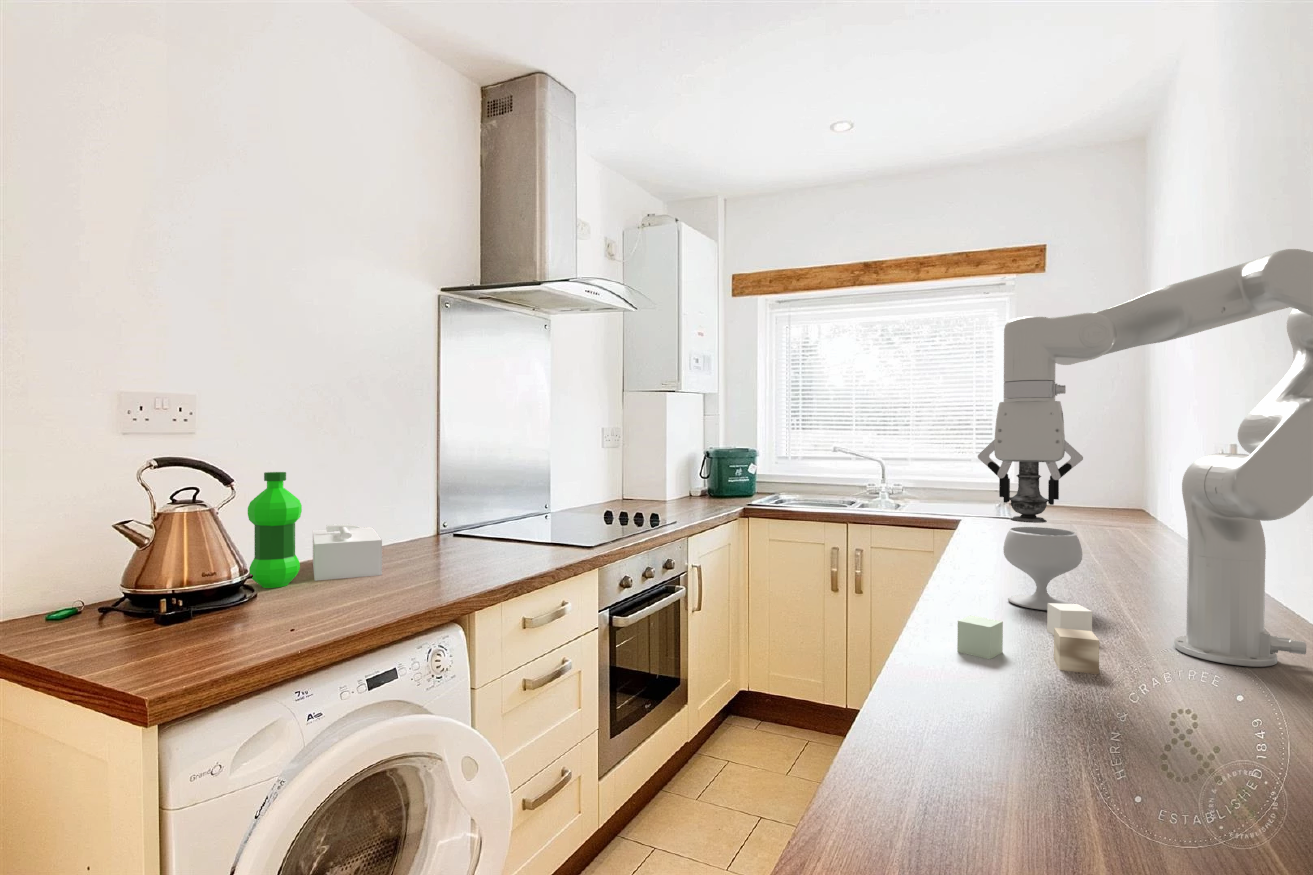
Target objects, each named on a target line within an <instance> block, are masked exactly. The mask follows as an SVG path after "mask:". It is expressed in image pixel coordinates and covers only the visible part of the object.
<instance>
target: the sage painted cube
mask: <svg viewBox="0 0 1313 875" xmlns="http://www.w3.org/2000/svg"><path fill="white" fill-rule="evenodd" d="M1003 626H1004V622H1003V621H1002V620H997V619H991V618H987V617H981V616H976V615H973V614H971V615H968V616H966V617H963V618H960V619H958V620H957V645H956V646H957V648H956V649H957V653H961V654H965V655H969V656H973V657H978V658H982V659H988V660H992V659H993V658H995V657H997V656H1000V655H1001V654H1002V653H1003V649H1004V648H1003V643H1004V642H1003V638H1004V635H1003V634H1004V633H1003V632H1004V631H1003V629H1004V627H1003Z"/></svg>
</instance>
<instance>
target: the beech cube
mask: <svg viewBox="0 0 1313 875" xmlns="http://www.w3.org/2000/svg"><path fill="white" fill-rule="evenodd" d="M1053 661H1054V663H1055V665H1056V666H1057V668H1058V670H1059V671H1065V672H1075V673H1083V672H1084V673H1085V674H1092V675H1100V639H1099V638H1098V637H1097V636H1096V634H1095V633H1094V632H1093V630H1092V631H1085V630H1074V629H1063V628H1054V635H1053Z"/></svg>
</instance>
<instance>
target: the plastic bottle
mask: <svg viewBox="0 0 1313 875" xmlns="http://www.w3.org/2000/svg"><path fill="white" fill-rule="evenodd" d="M263 480H264V482H266V488H265V489H263V491H261V492H260V493H259V494H258V495H256V496H255V497H254V498H253V499H252V500H251V501H249V504H248V507H247V517H248V521H250V522H251V524H253V525H254V557H253V560H252V561H251V563H250V566H249V571H248V572H249V575H250V574H252V575H253V577H252V578H251V579H252V580H253V581H254V582H255V583H256V584H258V585H259V586H261V588H264V589H274V588H275V589H276V588H282V587H285V586H288V585H289V584H290V583H291V581H293V579H295V578H296V577H297V575H298V574H299V572H300V569H301V563H300V561H299V558H298V557H297V555H296V522H298V520H299V519H300V518H301V515H302V510H303V509H302V508H303V507H302V506H303V505H302V503H301V501H300V499H299V498H298V497H296V496H295V495H294V494H293V493H292V492H290V491H289V490H287V489H286V488H285V487H284V481H286V480H287V472H286V471H267V472H263Z"/></svg>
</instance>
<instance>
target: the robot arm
mask: <svg viewBox="0 0 1313 875" xmlns="http://www.w3.org/2000/svg"><path fill="white" fill-rule="evenodd" d="M1288 308H1291V309H1292V310H1291V311H1290V313H1289V315H1288V317H1287V321H1286V332H1287V336H1288V338H1289V341H1290V344H1291V347H1292V354H1293V355H1292V363H1291V366H1290V367H1289V369H1288V371H1287V372H1286V373H1285V374H1284V375H1283V377H1282V378H1281V380H1279V382H1278V383H1276V385H1275V386H1274V387H1273V388H1271V390H1270V391H1269V392H1268V393H1267V394H1266V395H1265V396H1264V397H1263V398H1262V400H1260V401H1259V403H1257V405H1255V406H1254V407H1253V409H1252V410H1250V412H1248V413H1247V415H1246V416H1245V417H1244V419H1243V420H1242V421H1241V423H1240V425H1239V427H1238V431H1237V440H1238V443H1239V445H1240V447H1241V448H1242V449H1243V450H1244V451H1246V453H1249V454H1245V453H1232V452H1231V453H1230V452H1229V453H1227V452H1226V453H1224V452H1222V453H1220V452H1217V453H1212V454H1208V455H1204V456H1202V457H1199V458H1198V459H1196V460H1195V461H1193V462H1191V464H1189V466H1188V467H1187V469H1186V470H1185V472H1184V474H1183V476H1182V482H1181V494H1182V500H1183V504H1184V511H1185V515H1186V524H1187V525H1186V527H1187V528H1186V529H1187V562H1186V565H1187V570H1186V573H1187V574H1186V576H1187V578H1186V635H1182V636H1178V637H1176V638H1174V642H1173V645H1174V648H1175V649H1176V650H1178V651H1179V652H1181V653H1183V654H1186V655H1189V656H1191V657H1193V658H1198V659H1201V660H1205V661H1209V662H1214V663H1219V664H1220V663H1221V664H1224V665H1225V664H1226V665H1231V666H1241V667H1252V668H1253V667H1254V668H1255V667H1259V668H1260V667H1261V668H1262V667H1270V666H1275V665H1276V664H1277V663H1278V655H1277V654H1278V653H1279V651H1280V652H1287V653H1290V654H1298V655H1306V654H1307V644H1306V641H1303V640H1297V639H1295V640H1294V639H1291V638H1290V637H1284V636H1277V635H1271V634H1270V633H1269V631H1268V630H1266V629H1265V606H1266V605H1265V601H1266V600H1265V599H1266V598H1265V597H1266V591H1265V590H1266V589H1265V588H1266V553H1267V551H1266V549H1267V548H1266V537H1265V533H1264V528H1263V525H1262V522H1261V521H1267V522H1269V521H1277V520H1281V519H1284V518H1286V517H1288V516H1290V515H1292V514H1293V513H1295V512H1296V511H1298V510H1299V509H1300V508H1302V507H1303V506H1304V505H1305V504H1306V503H1307V502H1308V501H1309V500H1310V499H1311V498H1313V251H1310V250H1305V249H1301V248H1300V249H1298V248H1285V249H1282V250H1277V251H1275V252H1273V253H1269V254H1267V255H1264V256H1261V257H1258V258H1256V259H1253V260H1250V261H1246V262H1244V263H1241V264H1237V265H1234V266H1231V267H1230V266H1229V267H1226V268H1224V269H1221V270H1216V271H1213V272H1211V273H1210V272H1209V273H1207V274H1203V275H1200V276H1196V277H1193V278H1190V279H1187V280H1183V281H1179V282H1175V283H1172V284H1169V285H1165V286H1162V287H1159V288H1157V289H1155V290H1151V291H1149V292H1147V293H1145V294H1142V295H1140V296H1137V297H1135V298H1134V299H1131V300H1130V299H1129V300H1128V301H1125V302H1122V303H1120V304H1117V305H1114V306H1112V307H1109V308H1105V309H1101V310H1098V311H1096V312H1095V311H1094V312H1082V313H1076V314H1075V313H1074V314H1068V315H1062V316H1054V317H1053V316H1052V317H1049V316H1048V317H1047V316H1023V317H1017V318H1012V319H1010V320H1008V321H1007V322H1006V324H1005V325H1004V330H1003V401H1000V402H999V403H998V407H997V410H996V411H997V413H996V419H995V427H994V439H993V440H992V441H991V442H990V443H989V444H988V445H987V446H986V447H985V448H984V449H982V450H981V452H979V453H978V455H977V458H978V460H980V461H981V463H983V464H984V465H985V466H986V467H987V468H988V469H989V470H990V471H992V472H993V473H994V475H996V476H997V478H999V487H998V488H999V489H998V490H999V491H998V492H999V494H998V495H999V498H1003V503H1004V504H1005V503H1006V504H1007V503H1009V502H1011V500H1009V498H1010V497H1011V493H1010V492H1011V490H1010V489H1011V478H1009V474H1008V473H1009V470H1010V467H1011V466H1012V463H1013V462H1014V463H1015V462H1016V463H1019V462H1039V463H1045V464H1046V466H1047V468H1048V470H1049V473H1050V475H1049V479H1048V483H1047V484H1048V485H1047V486H1048V489H1047V490H1048V491H1047V492H1048V493H1047V494H1048V497H1047V499H1048V502H1047V504H1048V505H1050V506H1052V505H1053V506H1054V504H1055V500H1059V498H1060V497H1059V496H1060V488H1059V487H1060V479H1061V478H1063V477H1064V476H1065V475H1066V474H1068V473H1069V472H1070V471H1071V470H1072V469H1074V467H1076V466H1077V465H1078V464H1080V463H1081V462H1082V461H1083V460H1084V456H1083V455H1082V454H1081V453H1080V452H1079V451H1078V450H1077V449H1075V448H1074V447H1073V446H1072V445H1071V444H1070V443H1069V442H1068V441H1067V440H1066V439H1065V437H1066V436H1065V422H1064V421H1065V420H1064V412H1063V407H1062V406H1063V405H1062V403H1061V401H1059V400H1056V397H1057V396H1058V395H1061V394H1063V395H1065V394H1066V391H1067V390H1066V385H1065V384H1064V385H1061V384H1058V383H1056V364H1057V365H1061V366H1071V365H1075V364H1079V363H1084V362H1087V361H1092V360H1096V359H1098V358H1101V357H1102V356H1105V355H1109V354H1113V353H1116V352H1120V351H1124V350H1128V349H1131V348H1136V347H1142V346H1145V345H1152V344H1159V343H1164V342H1168V341H1172V340H1177V339H1180V338H1184V337H1187V336H1191V335H1192V336H1193V335H1195V334H1198V333H1201V332H1204V331H1208V330H1212V329H1215V328H1219V327H1222V326H1226V325H1229V324H1233V323H1237V322H1241V321H1244V320H1248V319H1252V318H1256V317H1259V316H1263V315H1266V314H1269V313H1273V312H1276V311H1280V310H1285V309H1288ZM992 453H994V457H995V458H996V459H997V460H999V461H1002V462H1001V463H1000V465H998V463H996V462H995V461H994V460H993V459H992V458H991V457H990V456H991V455H992ZM1065 453H1066V454H1068V456H1069V457H1070V459H1069V460H1068V461H1066V462H1065V463H1064V464H1063V465H1061V466H1060V467H1059V468H1058V464H1057V463H1056V462H1059V461H1061V460H1063V458H1065Z"/></svg>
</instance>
